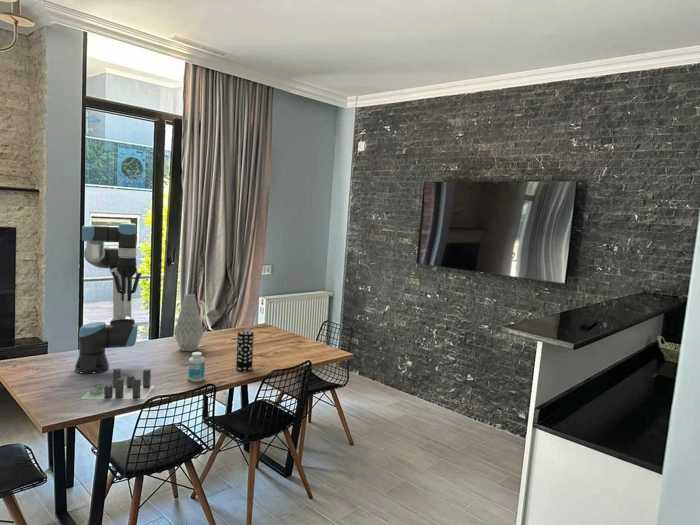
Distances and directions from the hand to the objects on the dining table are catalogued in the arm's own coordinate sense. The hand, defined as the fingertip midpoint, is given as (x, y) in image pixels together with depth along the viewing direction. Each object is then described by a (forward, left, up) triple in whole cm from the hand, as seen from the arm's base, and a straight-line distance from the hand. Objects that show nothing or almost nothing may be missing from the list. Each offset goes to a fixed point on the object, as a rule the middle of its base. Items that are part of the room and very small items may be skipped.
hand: (126, 308), depth 231 cm
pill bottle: (+31, +8, -37) cm, 49 cm away
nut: (-8, -12, -35) cm, 38 cm away
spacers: (+4, -12, -35) cm, 38 cm away
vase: (+18, +62, -37) cm, 74 cm away
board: (+1, -12, -36) cm, 38 cm away
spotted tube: (+53, +25, -37) cm, 69 cm away
